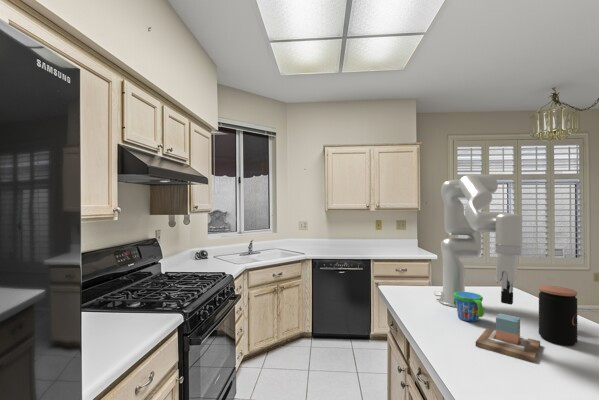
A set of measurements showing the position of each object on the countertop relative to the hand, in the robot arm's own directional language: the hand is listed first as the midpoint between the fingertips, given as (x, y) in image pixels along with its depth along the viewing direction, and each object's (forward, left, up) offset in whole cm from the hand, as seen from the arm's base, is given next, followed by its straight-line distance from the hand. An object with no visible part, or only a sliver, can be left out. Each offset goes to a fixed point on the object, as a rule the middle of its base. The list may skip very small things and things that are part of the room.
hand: (506, 303), depth 107 cm
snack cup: (-17, +17, -15) cm, 28 cm away
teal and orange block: (0, 0, -13) cm, 13 cm away
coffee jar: (+12, +17, -15) cm, 26 cm away
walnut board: (0, -1, -14) cm, 14 cm away
